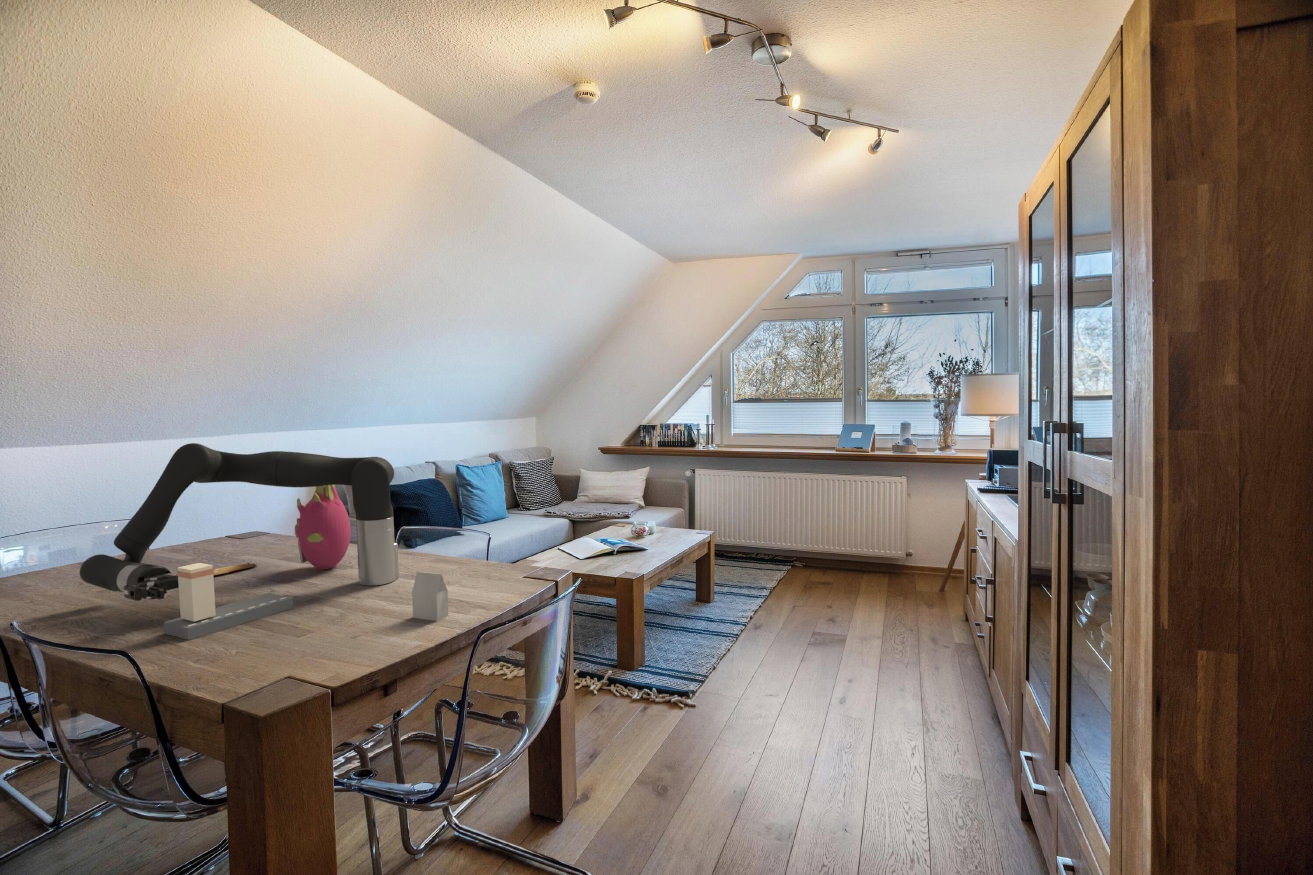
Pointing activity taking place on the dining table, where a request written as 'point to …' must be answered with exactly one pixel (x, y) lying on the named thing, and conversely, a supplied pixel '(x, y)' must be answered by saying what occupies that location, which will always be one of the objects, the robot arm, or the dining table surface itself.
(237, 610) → the toy road segment
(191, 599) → the cream block
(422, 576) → the grey milk carton
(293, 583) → the dining table surface
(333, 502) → the pink dragon fruit
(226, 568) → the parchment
